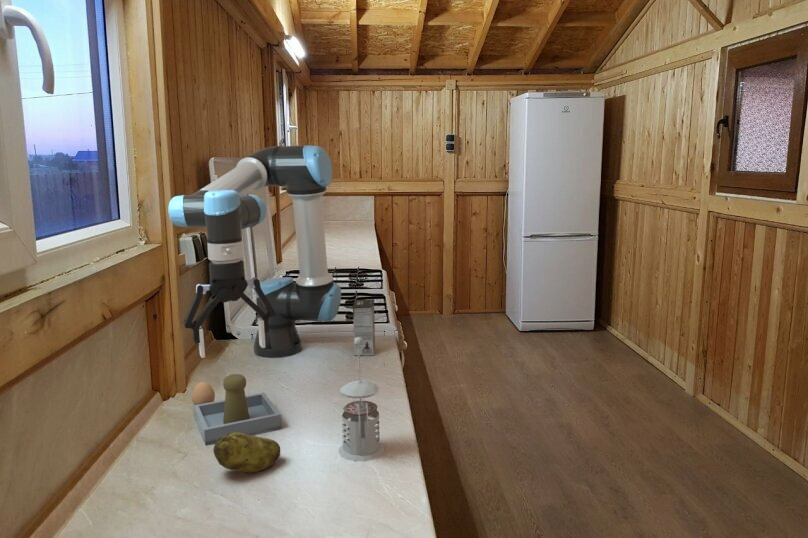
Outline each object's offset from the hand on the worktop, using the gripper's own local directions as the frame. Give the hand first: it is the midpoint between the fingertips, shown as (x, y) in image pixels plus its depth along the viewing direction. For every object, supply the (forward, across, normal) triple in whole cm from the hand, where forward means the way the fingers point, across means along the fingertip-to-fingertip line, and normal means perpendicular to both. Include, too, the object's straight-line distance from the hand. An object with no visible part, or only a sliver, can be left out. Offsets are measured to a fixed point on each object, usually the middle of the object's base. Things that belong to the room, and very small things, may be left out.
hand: (233, 351), depth 141 cm
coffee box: (+19, +47, +34) cm, 61 cm away
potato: (+18, -3, -23) cm, 29 cm away
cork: (+17, 0, 0) cm, 17 cm away
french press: (+18, +20, -27) cm, 38 cm away
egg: (+18, -6, +12) cm, 23 cm away
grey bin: (+18, 0, 0) cm, 18 cm away
